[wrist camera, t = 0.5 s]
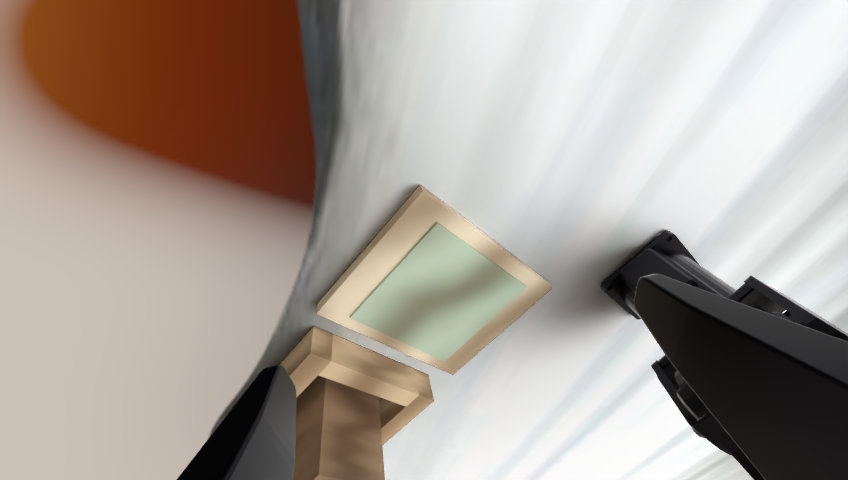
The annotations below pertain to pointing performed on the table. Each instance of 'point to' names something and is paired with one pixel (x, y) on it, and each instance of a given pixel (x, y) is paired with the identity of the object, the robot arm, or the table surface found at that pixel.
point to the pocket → (361, 376)
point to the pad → (432, 286)
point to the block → (337, 433)
